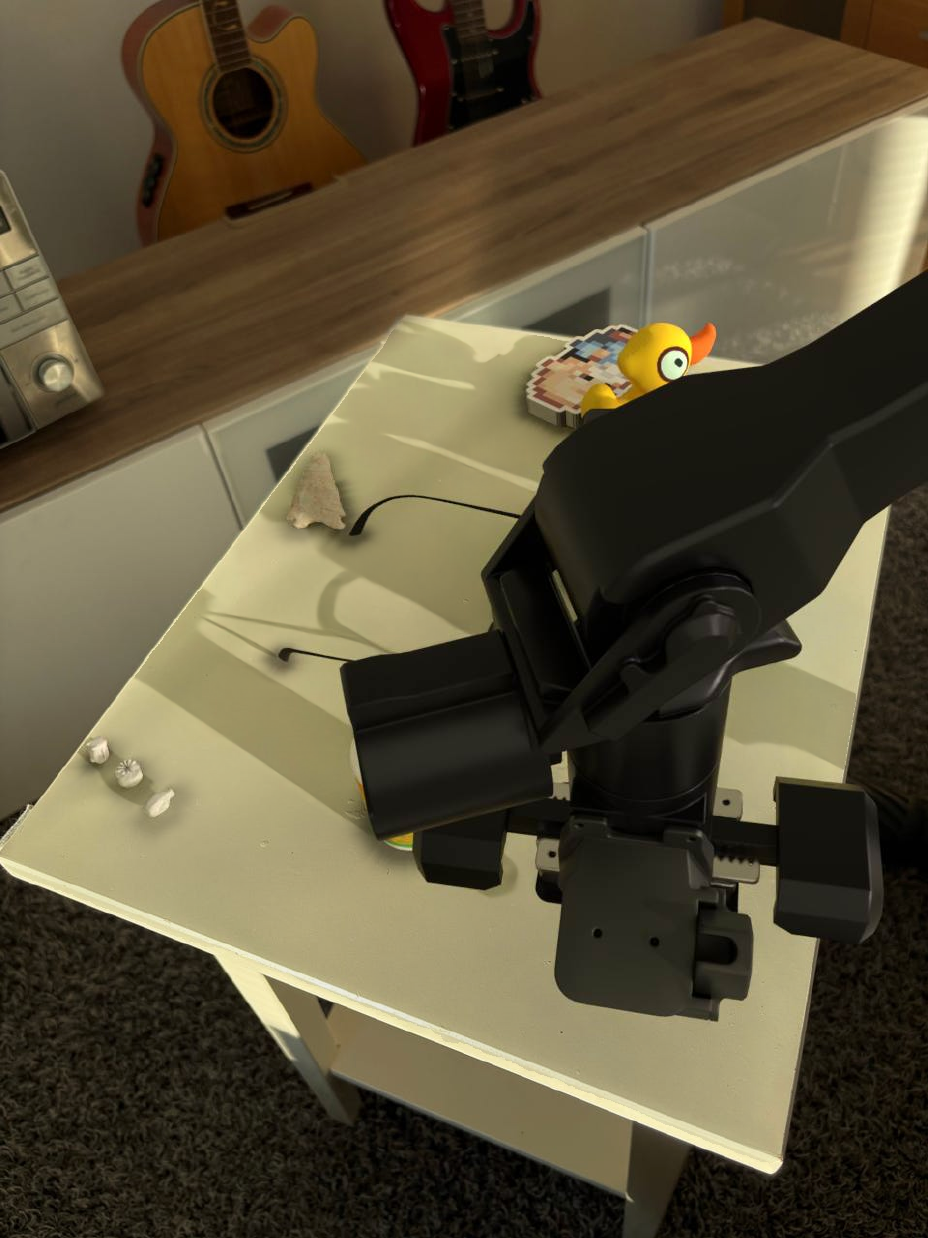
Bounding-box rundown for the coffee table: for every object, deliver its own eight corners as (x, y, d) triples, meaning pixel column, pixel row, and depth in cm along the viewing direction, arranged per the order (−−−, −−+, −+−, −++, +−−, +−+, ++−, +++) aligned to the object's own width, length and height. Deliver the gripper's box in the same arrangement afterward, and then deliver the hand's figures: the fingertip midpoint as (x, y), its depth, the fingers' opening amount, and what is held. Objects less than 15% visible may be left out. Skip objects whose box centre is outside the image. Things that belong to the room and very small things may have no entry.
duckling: (690, 400, 83) (697, 294, 76) (723, 434, 80) (734, 325, 72) (570, 441, 81) (566, 336, 74) (599, 477, 78) (597, 370, 71)
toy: (604, 316, 91) (692, 350, 86) (604, 330, 92) (691, 365, 87) (502, 386, 85) (590, 427, 80) (504, 400, 86) (590, 442, 81)
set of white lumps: (151, 812, 59) (158, 830, 60) (178, 790, 60) (184, 809, 62) (72, 748, 63) (80, 767, 64) (99, 729, 64) (106, 747, 65)
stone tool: (346, 532, 77) (347, 455, 84) (345, 524, 76) (346, 447, 83) (285, 535, 77) (291, 457, 84) (284, 527, 76) (290, 449, 83)
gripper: (341, 900, 33) (413, 1056, 44) (941, 990, 28) (847, 1137, 40) (419, 649, 40) (463, 839, 51) (907, 691, 36) (836, 888, 47)
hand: (636, 920), depth 47 cm, fingers closed
